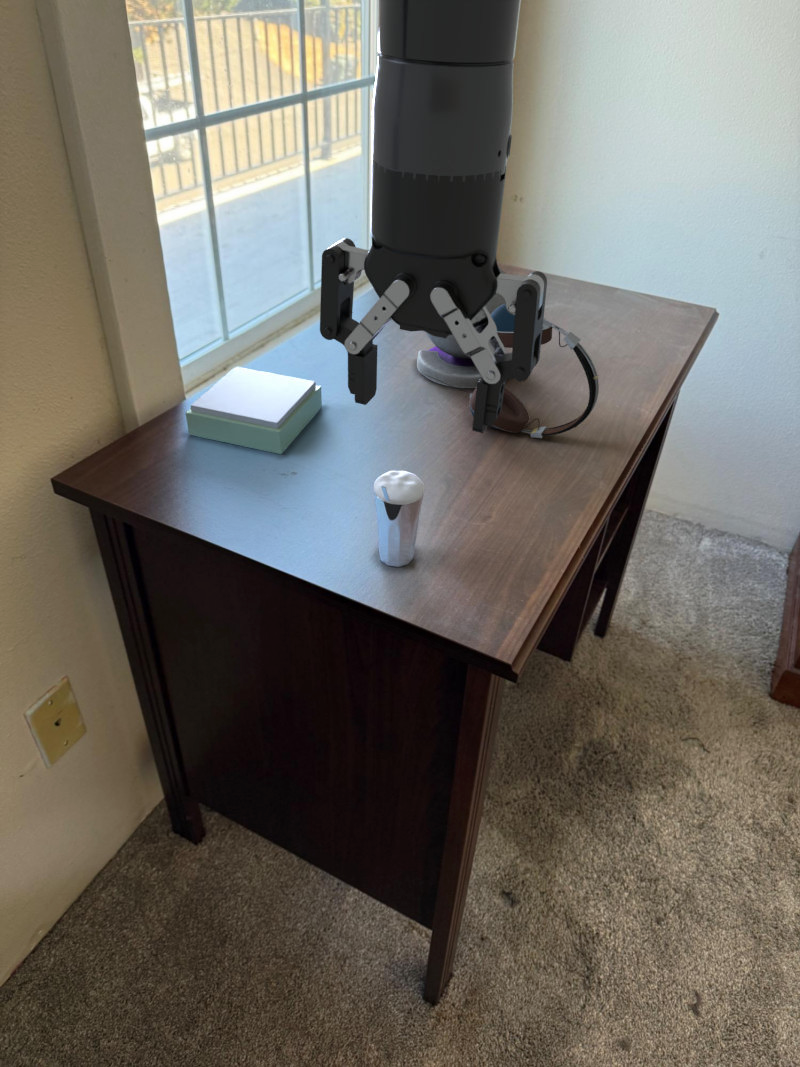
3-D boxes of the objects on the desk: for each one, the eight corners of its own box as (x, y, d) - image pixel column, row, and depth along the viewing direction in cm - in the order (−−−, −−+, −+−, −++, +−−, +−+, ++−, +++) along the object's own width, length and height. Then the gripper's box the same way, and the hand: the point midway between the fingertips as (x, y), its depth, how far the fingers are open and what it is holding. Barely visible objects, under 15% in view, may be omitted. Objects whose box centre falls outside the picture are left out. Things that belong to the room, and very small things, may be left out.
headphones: (405, 404, 94) (569, 468, 87) (422, 288, 84) (609, 350, 78) (427, 385, 98) (585, 444, 92) (446, 272, 88) (624, 330, 82)
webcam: (473, 341, 112) (483, 239, 103) (528, 375, 104) (545, 267, 94) (400, 359, 106) (404, 252, 97) (452, 397, 98) (462, 284, 89)
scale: (185, 434, 88) (181, 405, 86) (234, 390, 97) (231, 363, 95) (281, 454, 85) (279, 425, 83) (322, 407, 94) (321, 380, 92)
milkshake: (359, 566, 71) (360, 478, 64) (386, 536, 74) (389, 450, 68) (402, 582, 69) (406, 494, 63) (427, 550, 73) (434, 464, 67)
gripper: (292, 150, 40) (304, 414, 50) (550, 185, 36) (507, 464, 46) (351, 127, 46) (351, 370, 56) (581, 156, 42) (537, 411, 52)
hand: (422, 413), depth 51 cm, fingers open, 8 cm apart
